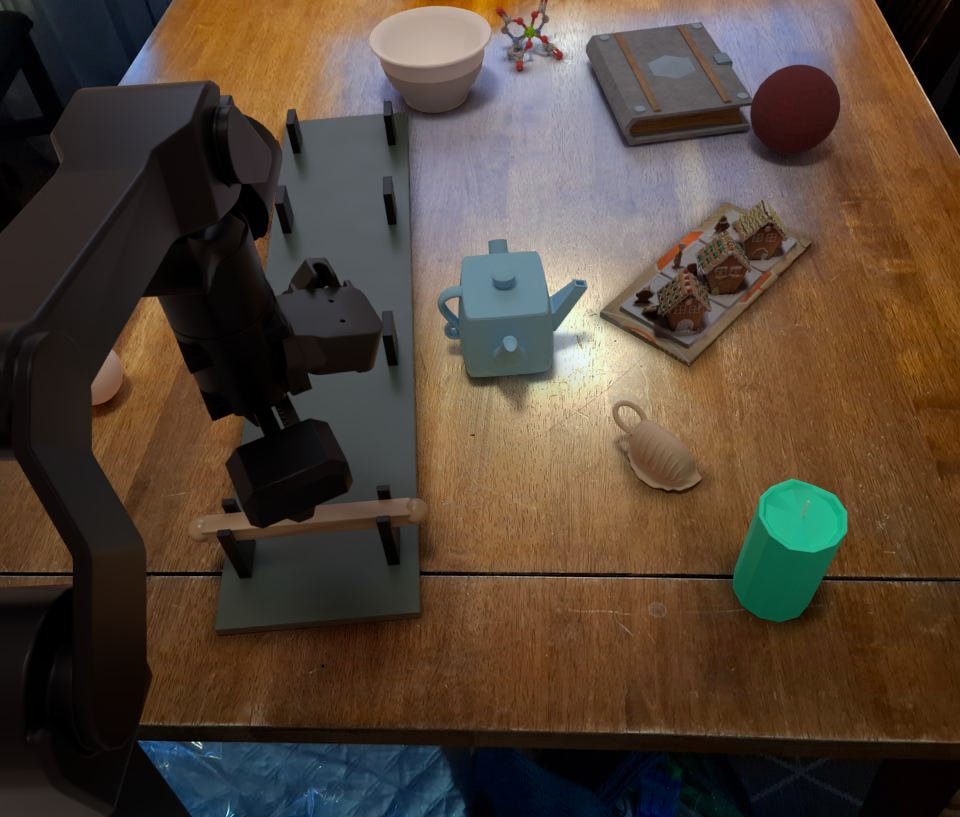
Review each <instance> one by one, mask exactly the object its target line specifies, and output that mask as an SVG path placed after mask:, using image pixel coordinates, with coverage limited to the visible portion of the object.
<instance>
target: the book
mask: <svg viewBox="0 0 960 817" xmlns="http://www.w3.org/2000/svg"><path fill="white" fill-rule="evenodd" d="M585 54H586V56H587V58H588V60H589V63H590V65H591V67H592V69H593V71H594V73H595V76H596V77H597V80H598V82H599V84H600V86H601V88H602V91H603V93H604V95H605V97H606V100H607V101H608V104H609V106H610V107H611V110H612V112H613V114H614V116H615V119H616V122H617V123H618V126H619V128H620V130H621V132H622V134H623V136H624V138H625V140H626V142H627V143H628V144H629V146H635V145H643V144H649V143H657V142H664V141H672V140H680V139H687V138H688V139H689V138H694V137H696V138H697V137H701V136H702V137H703V136H709V135H717V134H726V133H732V132H741V131H748V130H750V128H751V125H750V123H749V121H748V120H747V118H746V117H745V115H744V114H743V112H742V110H741V109H740V108H743V107H745V108H746V107H751V104H752V101H753V97H752V96H751V94H750V93H749V91H748V89H747V88H746V87H745V86H744V84H743V82H742V80H741V79H740V78H739V76H738V75H737V73H736V72H735V70H734V69H733V64H734V62H733V60H732V59H731V57H730V56H729V54H728V53H727V52H724V51H723V52H722V51H721V49H720V48H719V46H718V45H717V43H716V42H715V40H714V39H713V38H712V36H711V35H710V33H709V32H708V30H707V28H706V26H705V25H704V24H703V22H701V21H700V22H699V21H698V22H690V23H683V24H675V25H667V26H658V27H651V28H643V29H634V30H625V31H617V32H610V33H603V34H602V33H601V34H593V35H591V37H590V39H588V42H587V43H586V45H585Z"/></svg>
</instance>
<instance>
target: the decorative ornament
mask: <svg viewBox="0 0 960 817" xmlns="http://www.w3.org/2000/svg"><path fill="white" fill-rule="evenodd" d="M621 407H627V408H629V409H632V410H633V411H634V412H635V413H636V414H637V415H638V417H639V418H640V421H639V422H638V423H637V424H636V425H635V427H634V428H632V427H630V426H628V425H626V423H624V422H623V420H622V419H621V417H620V415H619V410H620V408H621ZM611 413H612V419H613V420H614V423H615V424H616V425H617V426H618V427H619V429H621V430H622V431H623V432H625V433H626V434H629V439H628V446H627V457H628V459H629V462H630V463H629V464H630V467H631V468H632V469H633V471H634V473H635V476H636V477H637V479H639V480H640V481H642V482H644V483H645V484H646V485H647V486H649V487H650V488H653V489H663V490H665V491H667V492H668V491H669V492H670V491H672V490H674V491H678V492H679V491H680V492H681V491H684V490H686V489H689V488H691V487H694V486H695V485H696V484H698V483H699V482H700V481H701V480H703V477H702V475H700V473H699V472H698V470H697V467H696V466H697V465H696V460H695V458H694V456H693V454H692V452H691V451H690V449H689V448H688V447H687V446H686V445H685V444H684V443H683V442H682V441H681V440H680V439H679V438H678V437H676V436H675V435H674V434H673V433H672V432H671V431H669V430H668V429H666V428H665V427H664V426H662V425H661V424H660V423H657V422H656V421H654V420H650V419H648V417H647V414H646V412H645V411H644V409H642V407H640V406H639V405H638V404H637V403H634V402H632V401H630V400H625V399H622V400H618V401H617V402H616V403H614V405H613V406H612V409H611Z"/></svg>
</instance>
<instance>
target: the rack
mask: <svg viewBox="0 0 960 817" xmlns="http://www.w3.org/2000/svg"><path fill="white" fill-rule="evenodd" d="M393 108H394V107H393V102H392V100H384V101H383V108H382V109H383V112H382V113H374V114H361V115H352V116H351V115H349V116H338V117H327V118H326V117H325V118H313V119H304V120H299V117H298V112H297V109H296V108H289V109H287V112H286V119H285V127H284V133H283V141H282V147H281V150H282V159H283V160H282V165H281V170H280V175H279V179H278V184H277V189H276V193H275V198H274V203H273V210H272V211H273V212H272V219H271V220H272V221H271V226H270V231H269V232H270V233H269V239H268V240H269V241H268V248H267V255H266V261H265V268H264V273H265V276H266V279H267V280H268V281H269V283H270V285H271V287H272V289H273V291H274V294H275V296H277V295H281V294H282V293H283V292H284V291H286V290H288V287H289V284H290V282H291V279H292V277H293V276H294V274H295V273H296V272H297V270H298V269H299V267H300V266H301V265H302V263H303V262H304V260H305V259H306V258H326V259H327V260H328V262H329V263H330V265H331V267H332V268H333V270H334V272H335V273H336V275H337V278H338V280H339V283H340V285H341V286H343V282H344V280H350V282H351V283H352V285H353V286H354V288H357V289H359V290H360V291H362V292H363V293H364V294H365V296H366V297H367V299H368V300H369V302H370V304H371V305H372V307H373V308H374V310H375V312H376V313H377V315H378V316H379V318H380V320H381V321H382V323H383V331H382V335H381V339H380V344H379V348H378V352H377V357H376V361H375V365H374V368H373V369H372V370H370V371H368V372H363V373H358V372H356V371H351V372H343V373H335V374H327V375H313V374H310V373H308V375H309V379H310V382H311V385H312V389H311V390H308V391H305V392H303V393H300V394H298V395H295V396H292V395H291V393H290V392H287V394H288V396H289V398H290V400H291V402H292V404H293V406H294V408H295V410H296V412H297V415H298V417H299V419H300V421H303V420H306V419H308V418H312V419H316V420H321V421H325V422H328V424H329V426H330V428H331V430H332V432H333V434H334V436H335V438H336V440H337V442H338V444H339V446H340V448H341V449H342V451H343V453H344V455H345V457H346V459H347V461H348V464H349V467H350V471H351V474H352V478H353V483H352V485H351V487H350V489H349V491H348V492H347V493H345V494H343V495H340V496H338V497H336V498H333V499H331V500H329V501H326V502H324V503H322V504H319V505H330V504H342V503H353V502H365V501H376V500H388V499H399V498H410V499H413V498H418V499H419V482H418V448H417V446H418V445H417V443H418V442H417V409H416V404H417V403H416V376H415V374H416V373H415V371H416V370H415V368H416V367H415V338H414V337H415V336H414V332H415V331H414V298H413V296H414V294H413V263H412V262H413V260H412V259H413V258H412V228H411V227H412V222H411V190H410V188H411V187H410V152H409V117H408V111H398V112H394V109H393ZM327 287H328V286H326V287H324V288H327ZM272 410H273V413H274V415H275V417H276V419H277V421H278V424H279V426H280V428H281V429H284V426H283V424H282V422H281V419H280V417H279V415H278V413H277V411H276V408H275V406H273V407H272ZM261 437H264V435H263V432H262V430H261V428H260V427H256V426H255V425H254V424H252V423H251V422H250V421H249V420H247V419H246V418H245V417H244V416H243V424H242V431H241V439H240V445H239V446H242V445H244V444H246V443H249V442H251V441H254V440H256V439H259V438H261ZM220 504H221V507H222V509H223V511H224V514H228V513H239V512H244V511H243V509H242V506H241V504H240V501H239V499H238V496H237V494H236V491H235V488H234V487H233V495H232V498H222V499H221V503H220ZM319 505H317V506H319ZM376 523H377V527H378V528H377V529H366V530H354V531H343V532H332V533H320V534H309V535H297V536H286V537H274V538H263V539H252V540H240V541H236V539H235V537H234V535H233V533H232V531H231V529H223V530H217V538H218V540H219V542H218V543H219V544H220V545H221V547H222V550H223V551H224V557H223V565H222V574H221V579H220V580H221V581H220V588H219V594H218V601H217V608H216V615H215V622H214V632H215V633H216V635H217V636H226V635H238V634H249V633H262V632H271V631H272V632H273V631H281V630H283V631H284V630H285V631H286V630H294V629H305V628H316V627H318V628H319V627H329V626H340V625H351V624H361V623H362V624H363V623H364V624H365V623H375V622H387V621H395V620H397V621H398V620H407V619H408V620H409V619H419V618H422V595H421V594H422V593H421V592H422V590H421V559H420V558H421V555H420V553H421V552H420V551H421V550H420V523H419V524H412V525H411V526H400V527H392V524H391V520H390V516H389V515H384V516H377V517H376Z"/></svg>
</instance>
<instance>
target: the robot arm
mask: <svg viewBox="0 0 960 817" xmlns="http://www.w3.org/2000/svg"><path fill="white" fill-rule="evenodd" d="M49 138H50V141H51V143H52V146H53V149H54V151H55V153H56V156H57V159H58V162H59V166H58V167H57V169H56V171H55V173H54V174H53V176H52V177H50V179H49V180H48V181H47V182H46V183H45V184H44V185H43V186H42V187H41V188H40V190H39V191H38V192H37V193H36V194H35V195H34V196H33V198H32V199H30V200H29V202H28V203H27V204H26V205H25V206H24V207H23V208H22V209H21V210H20V211H19V213H18V214H16V215H15V217H14V218H13V219H12V220H11V221H10V222H9V224H8V225H7V226H6V227H5V228H4V229H3V230H2V231H1V232H0V462H10V461H11V462H12V461H17V463H18V465H19V467H20V468H21V470H22V472H23V474H24V476H25V477H26V479H27V481H28V482H29V484H30V486H31V487H32V490H33V492H34V493H35V495H36V496H37V498H38V500H39V502H40V503H41V505H42V507H43V509H44V510H45V512H46V514H47V516H48V518H49V520H50V521H51V523H52V524H53V526H54V528H55V529H56V531H57V533H58V535H59V537H60V538H61V540H62V542H63V543H64V545H65V547H66V549H67V550H68V552H69V554H70V555H71V560H72V583H62V584H41V585H40V584H39V585H18V586H17V585H16V586H0V817H193V816H192V815H191V813H190V812H189V810H188V809H187V808H186V807H185V805H184V804H183V802H182V801H181V800H180V798H179V797H178V795H177V794H176V793H175V791H174V789H172V787H171V785H170V784H169V783H168V781H167V780H166V778H164V776H163V774H162V773H161V772H160V771H159V769H158V768H157V766H156V765H155V763H154V762H153V761H152V759H151V758H150V757H149V756H148V754H147V753H146V752H145V750H144V749H143V747H142V746H141V744H140V743H139V742H138V740H137V739H136V737H137V733H138V730H139V726H140V723H141V720H142V717H143V716H142V715H143V712H144V709H145V705H146V702H147V698H148V695H149V692H150V688H151V686H152V685H151V684H152V682H153V672H152V669H151V667H150V664H149V662H148V607H147V606H148V600H147V599H148V598H147V597H148V591H147V590H148V589H147V587H148V586H147V583H148V582H147V580H148V579H147V577H148V576H147V574H148V573H147V570H148V569H147V549H146V545H145V541H144V538H143V537H142V535H141V533H140V532H139V530H138V528H137V526H136V525H135V523H134V522H133V519H132V518H131V516H130V514H129V513H128V511H127V509H126V508H125V506H124V504H123V502H122V501H121V499H120V497H119V496H118V494H117V492H116V491H115V489H114V487H113V485H112V484H111V482H110V480H109V478H108V477H107V475H106V473H105V471H104V469H103V468H102V467H101V464H100V463H99V461H98V460H97V458H96V457H95V455H94V452H93V405H92V391H91V385H92V383H93V382H94V380H95V378H96V376H97V375H98V373H99V371H100V369H101V368H102V366H103V364H104V362H105V360H106V359H107V357H108V355H109V353H110V352H111V350H113V348H114V346H115V345H116V343H117V341H118V339H120V336H121V334H122V332H123V330H124V329H125V327H126V325H127V324H128V322H129V320H130V318H131V317H132V315H133V313H134V311H135V310H136V308H137V306H138V304H139V302H140V301H141V300H142V298H157V300H158V302H159V304H160V306H161V308H162V310H163V313H164V315H165V318H166V319H167V322H168V324H169V326H170V328H171V330H172V333H173V335H174V338H175V341H176V343H177V346H178V348H179V351H180V353H181V356H182V358H183V361H184V363H185V366H186V368H187V370H188V372H189V374H190V375H192V376H193V378H194V380H195V382H196V385H197V386H198V390H199V392H200V395H201V398H202V400H203V403H204V405H205V408H206V411H207V412H208V415H209V417H210V419H211V421H212V422H215V421H218V420H221V419H223V418H226V417H228V416H232V415H234V416H235V417H243V418H244V417H245V418H246V419H247V420H249V421H250V422H251V423H252V424H254V425H255V426H256V427H260V428H261V430H262V432H263V435H264V437H261V438H259V439H256V440H254V441H251V442H249V443H246V444H244V445H242V446H240V445H239V446H237V447H235V449H234V450H233V451H232V453H231V454H230V455H229V457H228V459H227V460H226V461H225V462H224V465H225V468H226V470H227V472H228V476H229V478H230V480H231V483H232V486H233V489H234V488H235V491H236V494H237V496H238V499H239V501H240V504H241V506H242V509H243V511H244V513H245V515H246V517H247V519H248V521H249V523H250V525H251V526H255V527H258V528H262V529H264V528H266V527H269V526H271V525H273V524H276V523H278V522H280V521H282V520H285V519H289V520H292V521H295V522H297V523H301V522H303V521H306V520H308V519H310V518H312V517H313V516H314V513H315V507H316V506H317V505H319V504H322V503H324V502H326V501H329V500H331V499H333V498H336V497H338V496H340V495H343V494H345V493H347V492H348V491H349V489H350V487H351V485H352V483H353V478H352V474H351V471H350V467H349V464H348V461H347V459H346V457H345V455H344V453H343V451H342V449H341V448H340V446H339V444H338V442H337V440H336V438H335V436H334V434H333V432H332V430H331V428H330V426H329V424H328V422H325V421H321V420H316V419H312V418H308V419H306V420H303V421H300V419H299V417H298V415H297V412H296V410H295V408H294V406H293V404H292V402H291V400H290V398H289V396H288V394H287V392H290V393H291V395H292V396H295V395H298V394H300V393H303V392H305V391H308V390H311V389H312V385H311V382H310V379H309V375H308V373H310V374H313V375H327V374H335V373H343V372H351V371H356V372H358V373H363V372H368V371H370V370H372V369H373V368H374V365H375V361H376V357H377V352H378V348H379V344H380V339H381V335H382V331H383V323H382V321H381V320H380V318H379V316H378V315H377V313H376V312H375V310H374V308H373V307H372V305H371V304H370V302H369V300H368V299H367V297H366V296H365V294H364V293H363V292H362V291H360V290H359V289H357V288H354V286H353V285H352V283H351V282H350V280H344V282H343V286H341V285H340V283H339V280H338V278H337V275H336V273H335V272H334V270H333V268H332V267H331V265H330V263H329V262H328V260H327V259H326V258H306V259H305V260H304V262H303V263H302V265H301V266H300V267H299V269H298V270H297V272H296V273H295V274H294V276H293V277H292V279H291V282H290V284H289V287H288V290H286V291H284V292H283V293H282V294H281V295H277V296H275V294H274V291H273V289H272V287H271V285H270V283H269V281H268V280H267V279H266V276H265V269H264V268H263V264H262V261H261V258H260V255H259V252H258V249H257V246H256V241H258V240H259V239H262V238H265V237H266V235H267V233H268V229H269V224H270V222H271V216H272V213H273V212H272V211H273V208H274V203H275V196H276V189H277V184H278V179H279V175H280V170H281V165H282V160H283V159H282V147H281V144H280V141H279V140H278V139H276V137H275V136H274V135H273V133H272V132H271V131H270V130H269V129H268V127H266V126H265V125H264V124H262V122H260V121H258V120H257V119H255V118H254V117H252V116H249V115H247V114H244V113H243V112H242V111H241V110H240V108H239V107H238V106H236V104H235V100H234V98H233V95H231V94H221V88H220V86H219V85H218V83H216V82H215V81H213V80H211V79H209V80H207V79H206V80H191V81H175V82H161V83H160V82H159V83H158V82H157V83H143V84H129V85H128V84H127V85H126V84H125V85H111V86H109V85H107V86H93V87H83V88H80V89H77V90H76V91H75V92H74V94H73V95H72V97H71V98H70V100H69V102H68V103H67V104H66V107H65V109H64V110H63V112H62V114H61V115H60V117H59V119H58V121H57V122H56V124H55V125H54V127H53V130H52V131H51V132H50V135H49ZM326 286H328V287H327V288H324V287H326ZM273 406H275V408H276V411H277V413H278V415H279V417H280V419H281V422H282V424H283V426H284V429H281V428H280V426H279V424H278V421H277V419H276V417H275V415H274V413H273V410H272V407H273Z"/></svg>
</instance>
